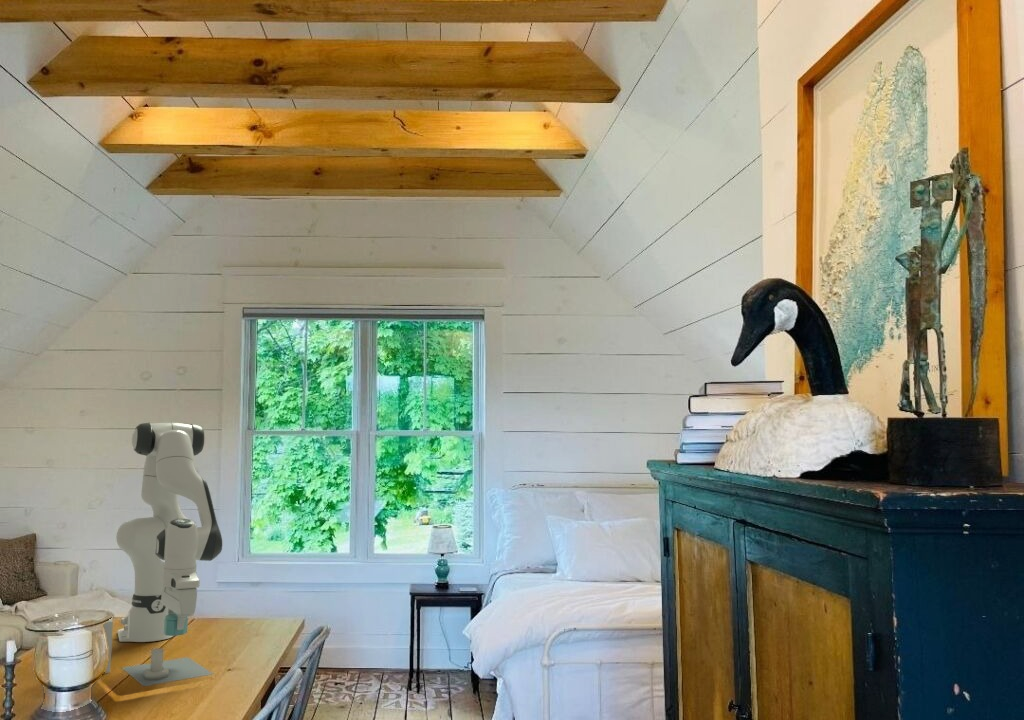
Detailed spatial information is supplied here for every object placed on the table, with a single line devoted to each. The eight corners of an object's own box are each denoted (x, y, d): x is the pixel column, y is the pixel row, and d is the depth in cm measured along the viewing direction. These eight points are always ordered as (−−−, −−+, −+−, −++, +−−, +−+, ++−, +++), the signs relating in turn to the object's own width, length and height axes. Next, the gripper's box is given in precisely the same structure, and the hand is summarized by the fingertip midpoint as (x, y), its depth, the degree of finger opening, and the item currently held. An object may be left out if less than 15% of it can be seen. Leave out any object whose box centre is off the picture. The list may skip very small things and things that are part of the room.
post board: (121, 672, 225) (122, 641, 226) (187, 661, 236) (188, 632, 237) (143, 691, 208) (145, 658, 209) (213, 678, 219) (215, 647, 220)
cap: (161, 632, 230) (162, 614, 231) (182, 629, 234) (183, 612, 234) (167, 636, 226) (168, 619, 226) (189, 633, 229) (190, 616, 230)
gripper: (157, 572, 237) (154, 620, 236) (178, 584, 221) (175, 636, 220) (179, 570, 241) (176, 617, 240) (201, 582, 225) (198, 632, 224)
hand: (175, 626), depth 230 cm, fingers closed on cap, 6 cm apart
